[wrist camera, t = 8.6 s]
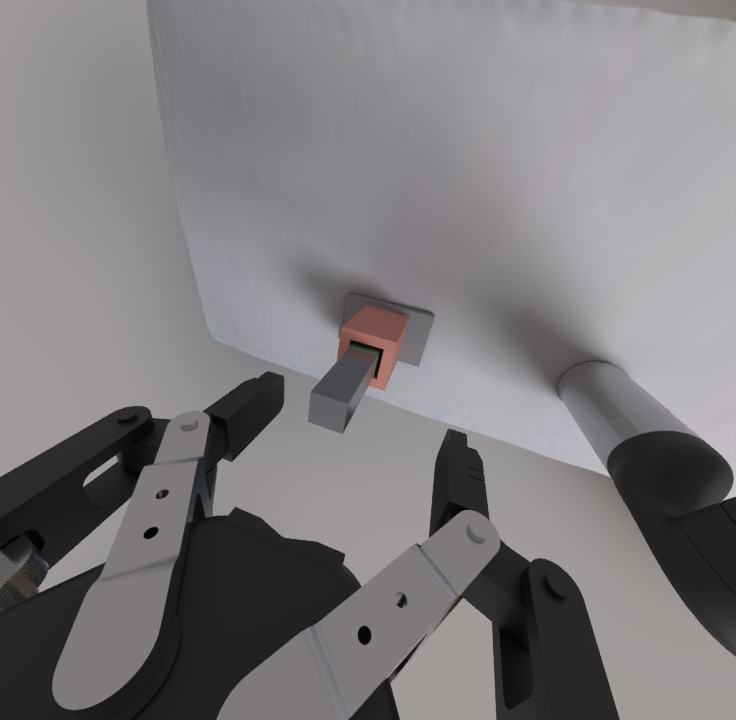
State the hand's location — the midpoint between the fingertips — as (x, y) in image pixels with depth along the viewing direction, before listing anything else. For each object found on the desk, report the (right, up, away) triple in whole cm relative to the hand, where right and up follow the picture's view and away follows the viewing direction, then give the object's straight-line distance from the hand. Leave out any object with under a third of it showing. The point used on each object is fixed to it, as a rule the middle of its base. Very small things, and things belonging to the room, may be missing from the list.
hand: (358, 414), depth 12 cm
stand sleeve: (+4, +9, +38) cm, 39 cm away
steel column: (+1, +5, +31) cm, 31 cm away
